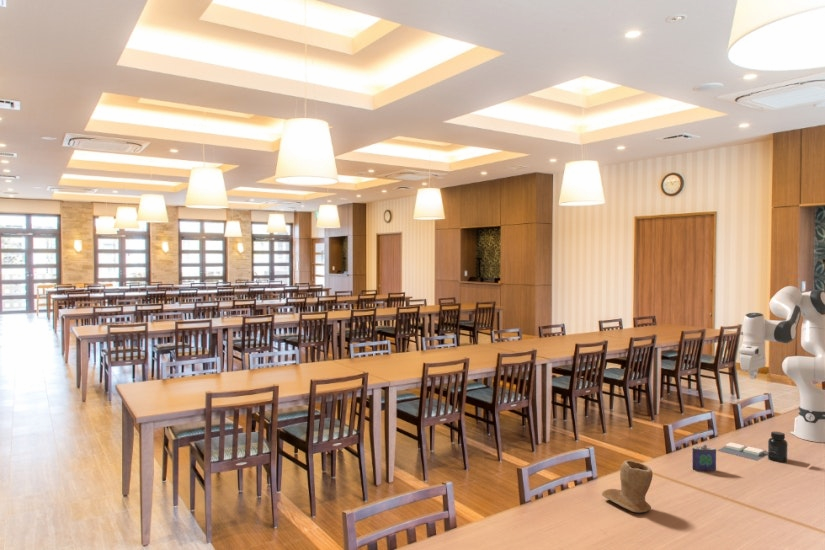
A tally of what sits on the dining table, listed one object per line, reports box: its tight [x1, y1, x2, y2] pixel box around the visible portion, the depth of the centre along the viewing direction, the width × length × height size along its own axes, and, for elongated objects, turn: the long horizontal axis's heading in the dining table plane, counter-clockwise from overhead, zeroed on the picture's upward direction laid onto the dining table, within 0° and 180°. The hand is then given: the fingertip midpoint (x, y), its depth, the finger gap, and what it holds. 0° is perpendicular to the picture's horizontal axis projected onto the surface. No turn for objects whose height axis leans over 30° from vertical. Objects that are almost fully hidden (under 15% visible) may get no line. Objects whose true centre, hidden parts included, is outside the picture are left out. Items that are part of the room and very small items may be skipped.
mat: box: [716, 446, 768, 461], centre depth 242 cm, size 16×16×1 cm
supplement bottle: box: [767, 431, 789, 464], centre depth 231 cm, size 7×7×12 cm
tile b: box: [724, 442, 746, 452], centre depth 245 cm, size 2×6×6 cm
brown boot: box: [601, 460, 654, 513], centre depth 188 cm, size 15×12×15 cm
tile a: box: [743, 446, 765, 456], centre depth 240 cm, size 2×6×6 cm
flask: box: [691, 443, 717, 472], centre depth 221 cm, size 9×3×11 cm, turn 88°
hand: (753, 378), depth 250 cm, fingers closed
